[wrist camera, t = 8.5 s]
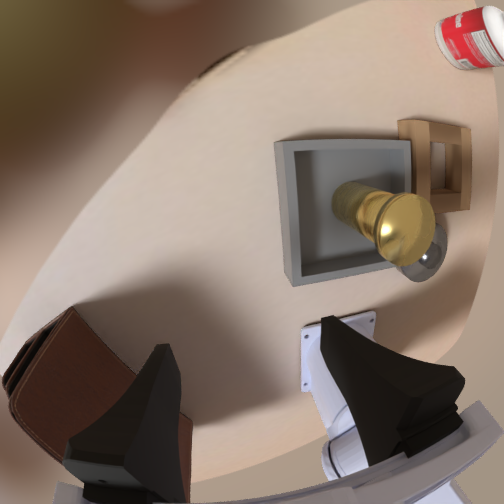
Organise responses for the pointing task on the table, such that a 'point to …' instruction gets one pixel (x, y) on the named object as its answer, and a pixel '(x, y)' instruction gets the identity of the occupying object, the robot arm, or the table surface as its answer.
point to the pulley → (428, 258)
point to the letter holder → (72, 387)
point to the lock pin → (387, 220)
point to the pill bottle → (473, 38)
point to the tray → (319, 203)
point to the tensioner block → (456, 163)
